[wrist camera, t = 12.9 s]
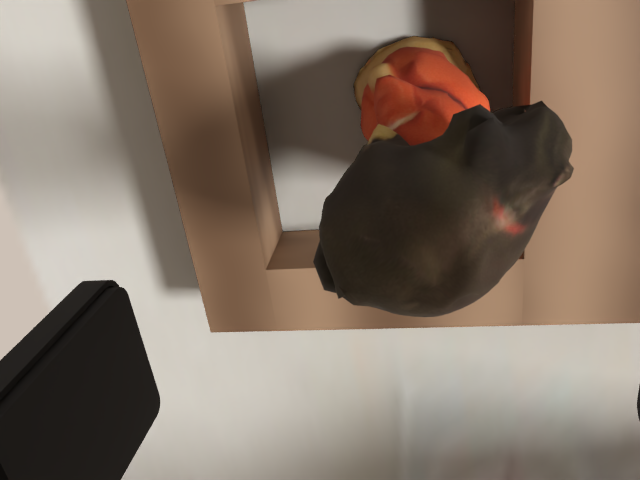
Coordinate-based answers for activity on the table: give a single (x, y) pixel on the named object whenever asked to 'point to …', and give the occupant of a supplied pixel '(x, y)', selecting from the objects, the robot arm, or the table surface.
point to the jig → (300, 246)
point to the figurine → (436, 185)
